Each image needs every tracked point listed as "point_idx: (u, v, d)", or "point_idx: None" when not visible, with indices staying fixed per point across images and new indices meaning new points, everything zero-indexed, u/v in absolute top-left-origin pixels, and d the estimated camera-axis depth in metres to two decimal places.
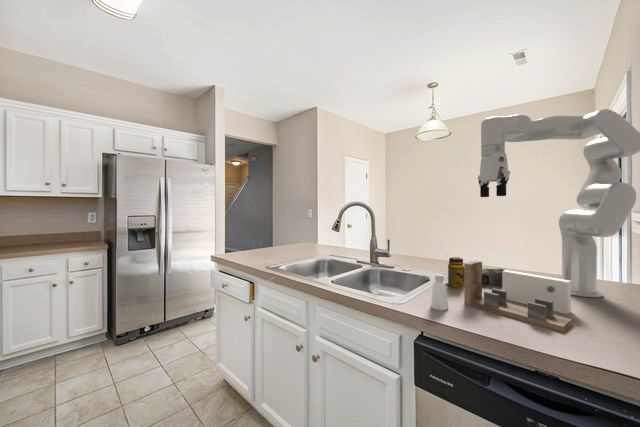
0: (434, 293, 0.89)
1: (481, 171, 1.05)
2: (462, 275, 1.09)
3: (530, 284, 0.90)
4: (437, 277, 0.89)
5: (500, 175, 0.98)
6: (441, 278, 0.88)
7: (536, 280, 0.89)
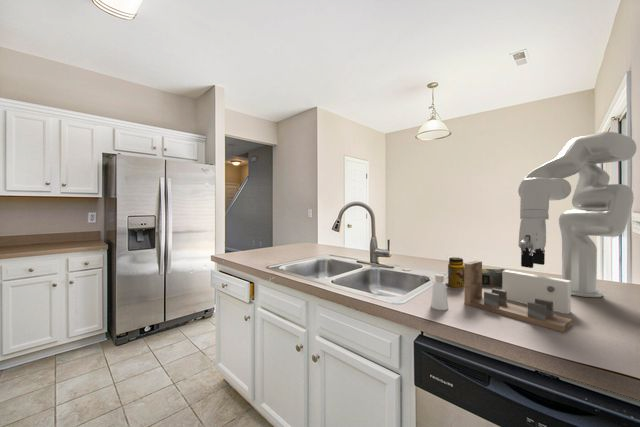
0: (434, 293, 0.89)
1: (538, 237, 0.87)
2: (462, 275, 1.09)
3: (530, 284, 0.90)
4: (437, 277, 0.89)
5: None
6: (441, 278, 0.88)
7: (536, 280, 0.89)
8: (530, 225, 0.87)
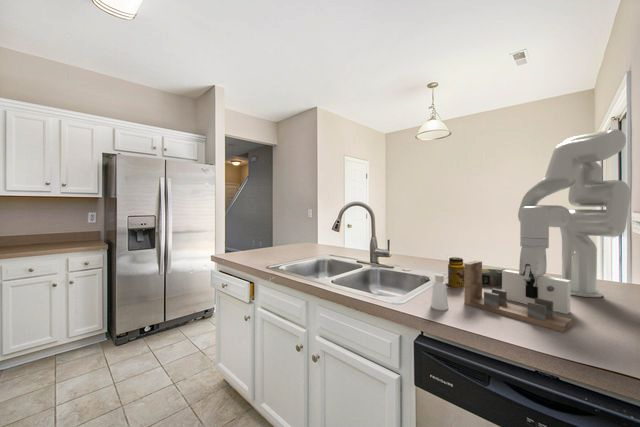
0: (434, 293, 0.89)
1: (538, 266, 0.87)
2: (462, 275, 1.09)
3: None
4: (437, 277, 0.89)
5: None
6: (441, 278, 0.88)
7: None
8: (530, 254, 0.87)
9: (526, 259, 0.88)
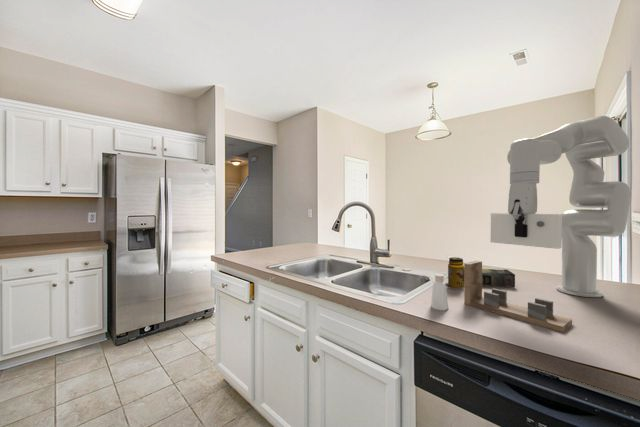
0: (434, 293, 0.89)
1: (528, 201, 0.82)
2: (462, 275, 1.09)
3: None
4: (437, 277, 0.89)
5: None
6: (441, 278, 0.88)
7: (526, 217, 0.84)
8: (520, 189, 0.82)
9: (515, 194, 0.83)
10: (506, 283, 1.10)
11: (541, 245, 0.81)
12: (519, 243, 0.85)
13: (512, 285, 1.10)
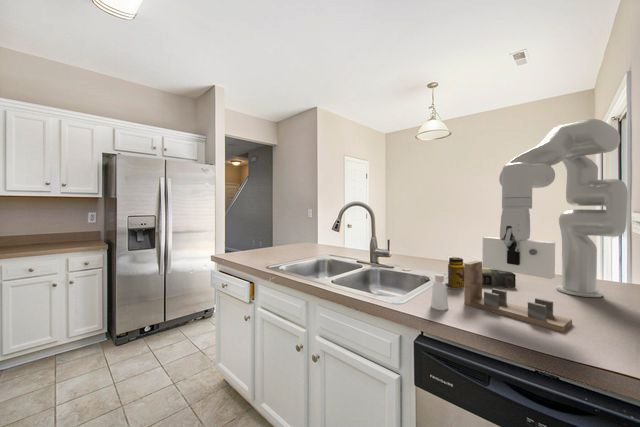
0: (434, 293, 0.89)
1: (520, 228, 0.79)
2: (462, 275, 1.09)
3: None
4: (437, 277, 0.89)
5: None
6: (441, 278, 0.88)
7: None
8: (512, 215, 0.79)
9: (507, 221, 0.80)
10: (506, 284, 1.10)
11: (534, 274, 0.78)
12: (511, 270, 0.82)
13: (513, 285, 1.09)
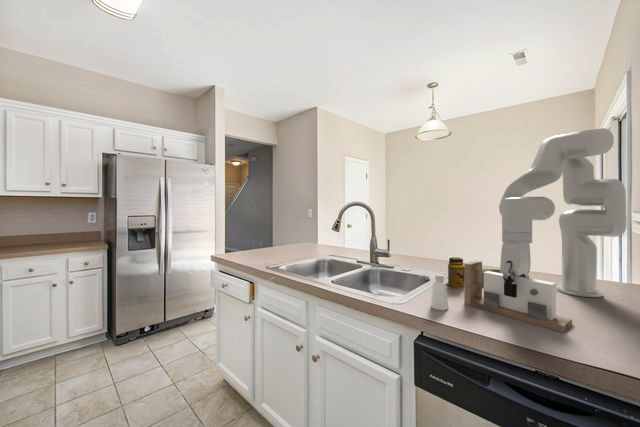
0: (434, 293, 0.89)
1: (520, 263, 0.79)
2: (462, 275, 1.09)
3: None
4: (437, 277, 0.89)
5: None
6: (441, 278, 0.88)
7: (519, 282, 0.81)
8: (512, 250, 0.80)
9: (507, 255, 0.80)
10: None
11: None
12: (512, 308, 0.83)
13: None
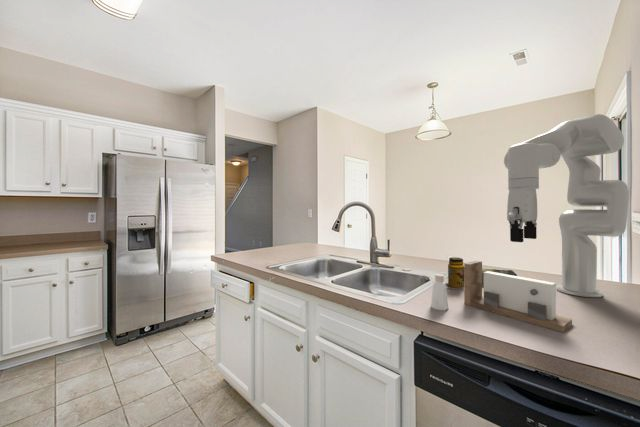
0: (434, 293, 0.89)
1: (527, 208, 0.79)
2: (462, 275, 1.09)
3: (513, 287, 0.83)
4: (437, 277, 0.89)
5: None
6: (441, 278, 0.88)
7: (519, 282, 0.81)
8: (519, 196, 0.79)
9: (514, 202, 0.80)
10: None
11: None
12: (512, 308, 0.83)
13: None
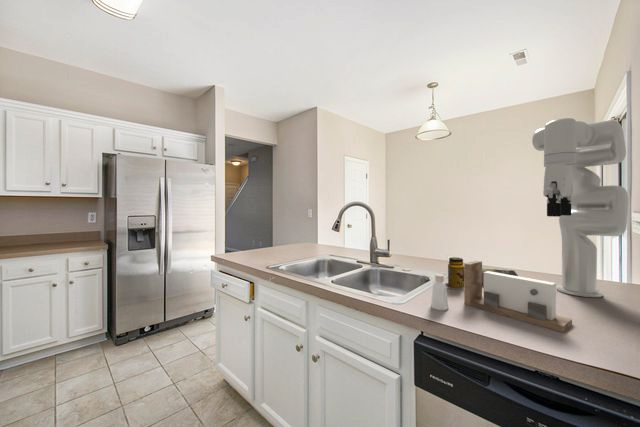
0: (434, 293, 0.89)
1: (565, 182, 0.79)
2: (462, 275, 1.09)
3: (513, 287, 0.83)
4: (437, 277, 0.89)
5: None
6: (441, 278, 0.88)
7: (519, 282, 0.81)
8: (557, 170, 0.80)
9: (552, 176, 0.81)
10: None
11: None
12: (512, 308, 0.83)
13: None
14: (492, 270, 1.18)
